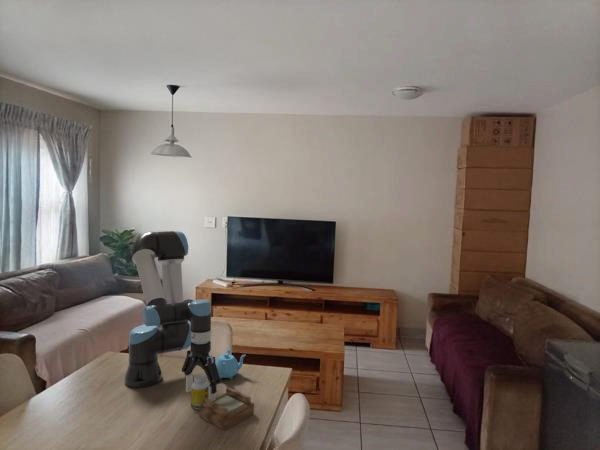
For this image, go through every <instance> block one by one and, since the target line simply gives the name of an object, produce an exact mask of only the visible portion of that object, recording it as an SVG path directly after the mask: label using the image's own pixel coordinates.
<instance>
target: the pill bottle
mask: <svg viewBox="0 0 600 450" xmlns="http://www.w3.org/2000/svg"><path fill="white" fill-rule="evenodd" d="M209 385H210V382H209V381H207V376H206V373H196V374H195V375H193V383H192V386H191V391H190V392H191V393H190V394H191V395H190V396H191V397H190V398H191V403H190V405H191V407H192V408H193V409H195V410H199V406H200V405H202V404H203V399H204V398H207V399H209Z"/></svg>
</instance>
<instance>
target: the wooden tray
mask: <svg viewBox="0 0 600 450" xmlns="http://www.w3.org/2000/svg"><path fill="white" fill-rule="evenodd" d="M225 389H226V390H225V393H222V394H221V395H219V396H217V397H216V399H215V401H211V400H209V399H207V398H204V399H203V404H202V405H200V406H199V409H198V413H199V417H200V418H202V419H203V420H206V422H209V423H211V424H212V425H214V426H216V427H218V428H220V429H222V430H224V431H227V430H229V429H230V428H232V427H234V426H235V425H237V424H239V423H241V422H243V421H244V420H246V419H248V418H249V417H251V416H253V415H255V414H254V413H255V403H253V402H252V400H251V396H249V395H247V394H245V393H242V392H241V391H239V390H236V389H233V388H231V387H226V388H225Z"/></svg>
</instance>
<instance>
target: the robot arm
mask: <svg viewBox="0 0 600 450" xmlns="http://www.w3.org/2000/svg"><path fill="white" fill-rule="evenodd" d="M187 239H188V238H187V237H186V235H185V234H184V233H183V231H179V230H178V231H175V230H170V231H169V230H168V231H167V230H166V231H147V232H145V233H143V234H141V235H139V236H138V237H137V238H136V240H135V241H134V242H133V245H132V246H131V253H130V255H131V260H132V263H133V264H135V266H136V269H137V274H138V276H139V277H138V278H139V281H140V284H141V289H142V292H143V296H144V301H145V306H144V307H143V309H142V321H143V324H141V325H138V326H135V327H134V328H133V329H131V331H130V332H129V334H128V335H129V336H128V365H127V369H126V372H125V375H124V385H126V386H127V387H130V388H134V389H135V388H136V389H137V388H148V387H151V386H155V385H156V384H158V383H159V382H160V381H162V378H163V375H162V374H163V372H162V369H161V367H160V364H159V358H158V356H159V355H162V354H168V353H172V352H178V351H179V352H180V351H183V350H186V349H189V348H190V350H187V351H186V356H185V359H184V363H183V365H182V368H181V372H182V373H184V376H185V392H186V393H190V392H191V386H192V383H193V382H194V374H193V371H194V369H195V368H196V366H199V367H200V368H201V369H202V370H203V371H204V374H205V375H206V379H207V380H208V383H209V400H211V401H215V399H216V398H217V397H216V396H217V395H216V394H217V385H219V384H221V379H220V377H219V374H218V370H217V367H216V363H215V362H216V357H215V356H212V357H209V355H210V354H209V353H210V351H211V350H212V349H211V348H212V341H211V340H212V330H211V329H212V306H211V304H212V303H211V301H210V300H208V299H195V300H194V299H189V298H188V299H184V290H183V272H182V263H183V262H184V261H185V257H186V256H187V255H188V254H189V243H188V240H187ZM156 258H157V261H158V263H159V264H160V265H161V277H160V274H159V271H158V268H157V264H156V261H155V259H156ZM161 279H162V280H161Z"/></svg>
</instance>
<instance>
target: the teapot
mask: <svg viewBox="0 0 600 450" xmlns="http://www.w3.org/2000/svg"><path fill="white" fill-rule="evenodd" d="M245 356H246V354H242V355H241V356H240V357H239V362H238V360H237V358H236V357H235V356H234V355H232V354H231V347H230V346H229V347H228V348H227V352H226V353H223V354H222V355H220V356H218V357H217V358H216V360H215V363H216V367H217V370H218V374H219V377H220V380H222V379H223V378H225V379H226V378H228V379H229V380H233V379H234V377H235V376H236V375H237V374H238V373H239V371H240V369H241V368H242V367H243V363H244V362H243V361H244V358H245ZM209 357H213V355H211V354H209Z"/></svg>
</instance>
